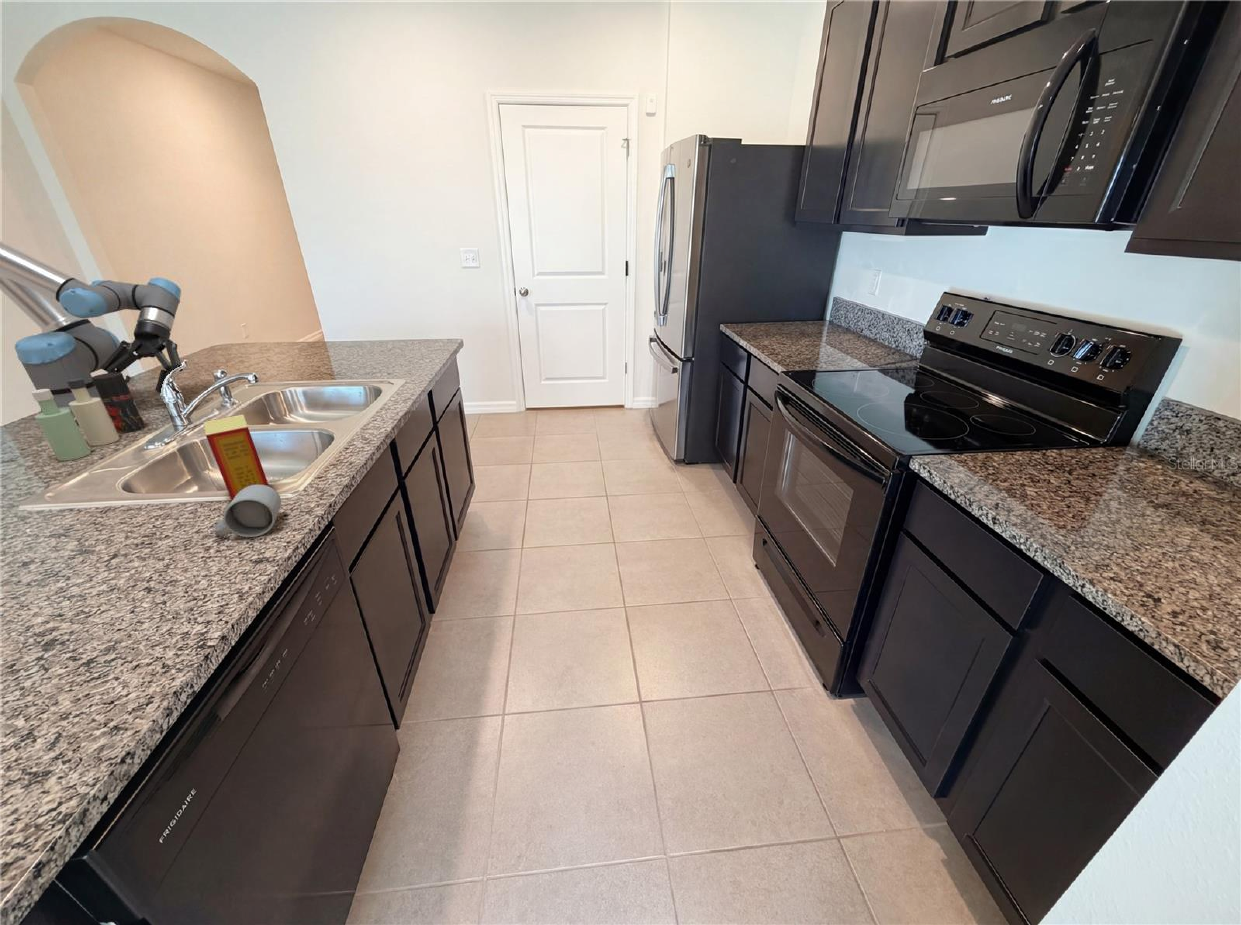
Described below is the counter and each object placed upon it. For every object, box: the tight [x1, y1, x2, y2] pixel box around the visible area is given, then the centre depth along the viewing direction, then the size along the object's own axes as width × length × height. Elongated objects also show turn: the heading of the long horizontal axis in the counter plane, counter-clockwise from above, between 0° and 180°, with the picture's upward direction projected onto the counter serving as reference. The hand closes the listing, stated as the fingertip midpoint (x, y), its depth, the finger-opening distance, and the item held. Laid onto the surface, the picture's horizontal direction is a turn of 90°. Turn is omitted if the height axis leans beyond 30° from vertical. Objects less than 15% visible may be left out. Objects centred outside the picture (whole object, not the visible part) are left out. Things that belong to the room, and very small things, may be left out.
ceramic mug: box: [213, 485, 282, 538], centre depth 92 cm, size 11×8×8 cm
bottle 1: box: [30, 389, 92, 462], centre depth 119 cm, size 6×6×16 cm
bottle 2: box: [66, 378, 120, 447], centre depth 127 cm, size 6×6×16 cm
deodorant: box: [92, 372, 146, 434], centre depth 135 cm, size 6×6×15 cm
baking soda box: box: [203, 413, 270, 501], centre depth 102 cm, size 10×6×16 cm
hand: (135, 393), depth 140 cm, fingers open, 13 cm apart
